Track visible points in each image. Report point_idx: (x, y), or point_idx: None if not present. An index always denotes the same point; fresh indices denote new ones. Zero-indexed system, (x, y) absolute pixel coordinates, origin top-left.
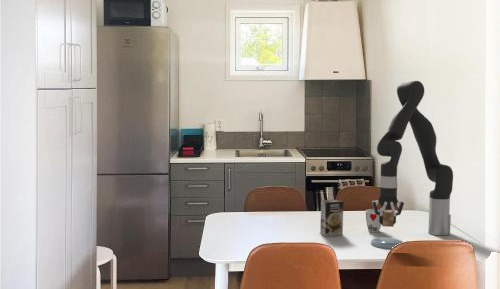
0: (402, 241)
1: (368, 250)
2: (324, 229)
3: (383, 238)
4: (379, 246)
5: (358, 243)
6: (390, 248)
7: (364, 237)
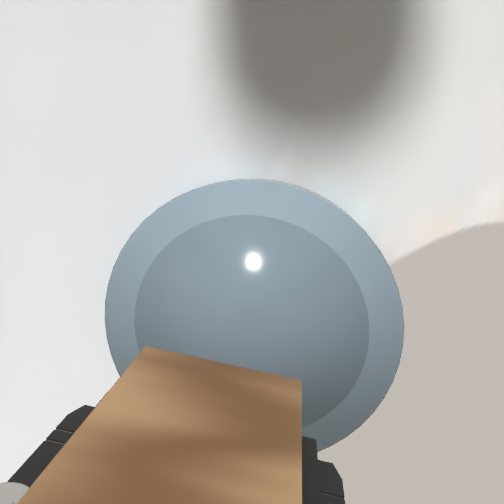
0: (400, 344)
1: None
2: None
3: (253, 214)
4: None
5: (16, 251)
6: None
7: (112, 42)
